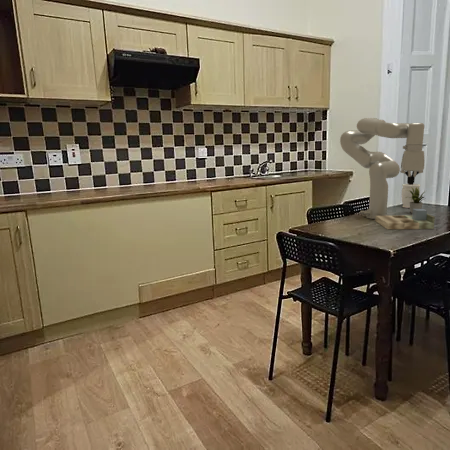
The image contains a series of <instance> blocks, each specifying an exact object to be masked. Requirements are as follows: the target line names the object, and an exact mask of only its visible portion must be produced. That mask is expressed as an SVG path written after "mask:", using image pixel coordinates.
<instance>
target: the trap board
mask: <svg viewBox="0 0 450 450" xmlns="http://www.w3.org/2000/svg"><path fill="white" fill-rule="evenodd" d="M435 219H436V217H435V216H433V215H431V214H429V213H427V218H426V220H414V219H412V214H409V215H408V214H407V215H406V214H405V215H402V214H401V215H400V214H399V215H389V216H376V219H374V221H375V223H377V224H379V225H380V226H382V227H383V228H385V229H386V230H433V229H435Z"/></svg>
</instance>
